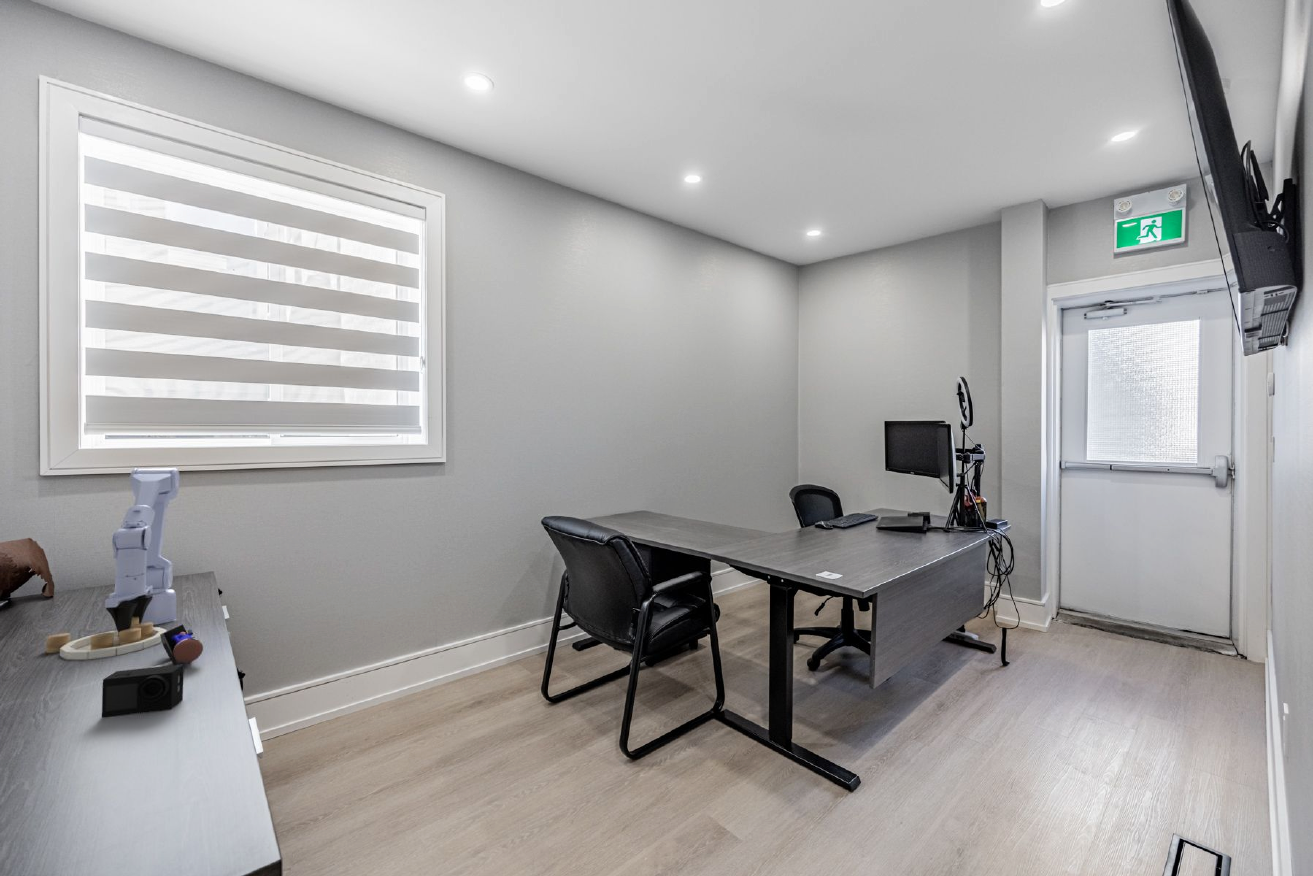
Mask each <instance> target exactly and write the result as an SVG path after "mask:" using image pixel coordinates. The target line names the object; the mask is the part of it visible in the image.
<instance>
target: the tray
mask: <svg viewBox="0 0 1313 876" xmlns="http://www.w3.org/2000/svg"><path fill="white" fill-rule="evenodd" d="M167 631H168V630H167V629H165V628H162V627H159V626H158V627H157V626H153V637H150V638H147V639H145V640H142V641H139V642H135V643H130V644H126V645H122V646H119V637H118V631H117V629H116V630H110V631H105V632H104V633H114V641H113V647H110V648H102V649H95V650H90V649H91V636H94V635H97V634H98V633H96V634H92V635H87V636H84V637H81V638H78V639H75V640H72V641H71V640H70V642H69V643H67V644H66V645H64V646H63V647H61V648H60V652H59V657H61V658H63V659H64V660H91V659H92V660H93V659H100V658H107V657H108V658H109V657H115V656H120V655H123V654H128V653H132V652H136V651H140V650H143V649H147V648H149V647H152V646H155V645H157V644H162V641H161V637H160V634H162V633H165V632H167ZM102 633H103V632H101V633H99V634H102Z"/></svg>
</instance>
